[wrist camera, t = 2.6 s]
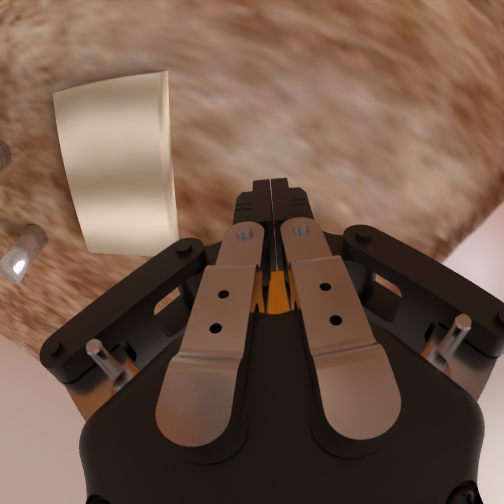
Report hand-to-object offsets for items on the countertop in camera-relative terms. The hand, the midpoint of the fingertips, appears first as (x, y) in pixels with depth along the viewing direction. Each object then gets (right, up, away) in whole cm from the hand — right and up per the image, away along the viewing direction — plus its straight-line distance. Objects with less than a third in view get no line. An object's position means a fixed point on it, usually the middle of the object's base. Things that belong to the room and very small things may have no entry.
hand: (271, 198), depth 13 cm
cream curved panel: (-11, +5, +7) cm, 14 cm away
